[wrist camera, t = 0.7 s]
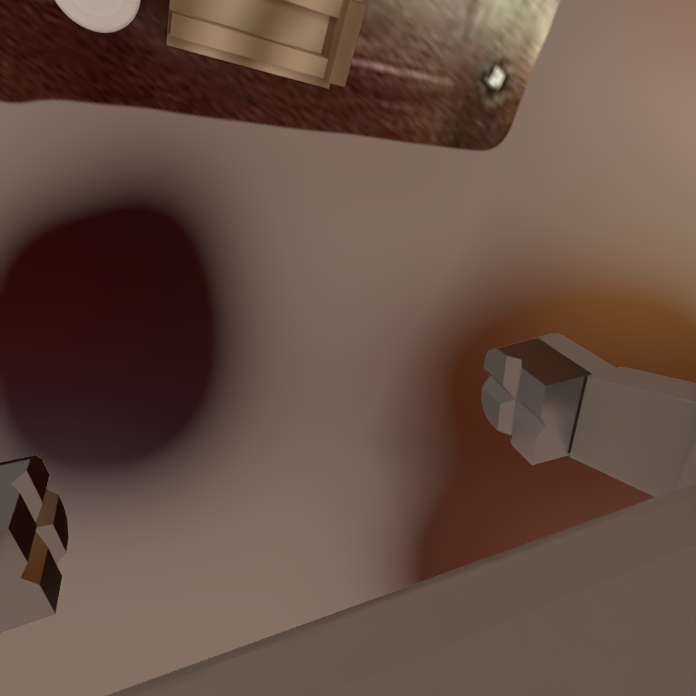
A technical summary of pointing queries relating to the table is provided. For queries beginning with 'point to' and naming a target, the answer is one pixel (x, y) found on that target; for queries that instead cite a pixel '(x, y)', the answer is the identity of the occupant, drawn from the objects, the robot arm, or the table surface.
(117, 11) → the sprinkles bottle
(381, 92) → the table surface
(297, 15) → the u rest
